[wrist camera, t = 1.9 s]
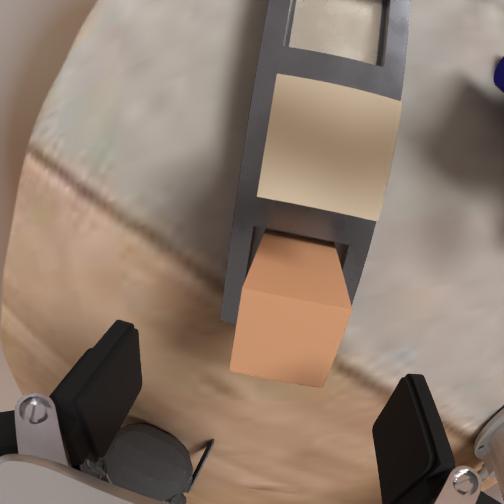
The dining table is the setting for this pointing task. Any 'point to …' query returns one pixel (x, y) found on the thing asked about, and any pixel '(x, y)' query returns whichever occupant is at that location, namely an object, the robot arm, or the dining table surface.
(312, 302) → the terracotta block
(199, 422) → the dining table surface
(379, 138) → the beech block
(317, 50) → the rail
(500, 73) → the toy
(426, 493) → the robot arm
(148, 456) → the robot
